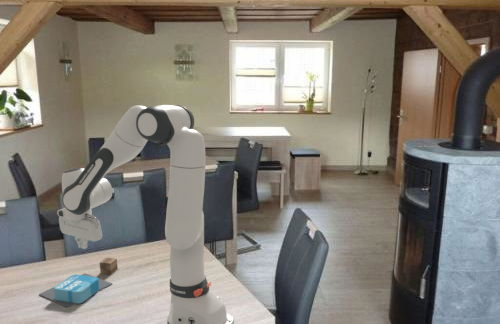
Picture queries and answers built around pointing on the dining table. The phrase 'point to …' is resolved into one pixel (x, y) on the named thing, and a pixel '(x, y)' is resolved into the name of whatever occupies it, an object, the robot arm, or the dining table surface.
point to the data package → (76, 288)
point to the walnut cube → (108, 266)
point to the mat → (50, 295)
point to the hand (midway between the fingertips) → (83, 247)
